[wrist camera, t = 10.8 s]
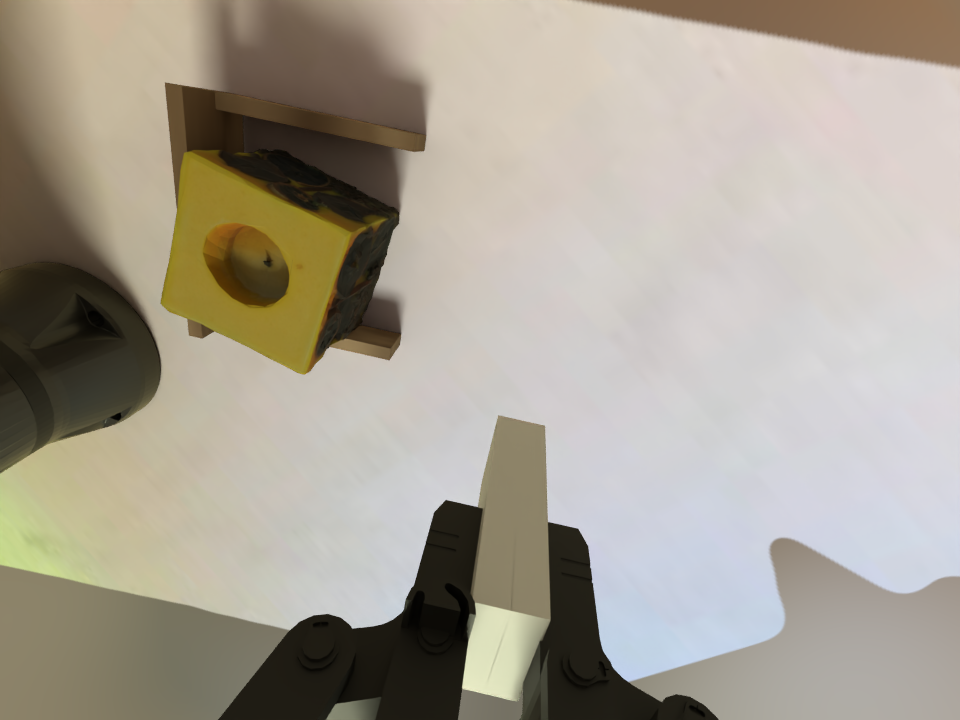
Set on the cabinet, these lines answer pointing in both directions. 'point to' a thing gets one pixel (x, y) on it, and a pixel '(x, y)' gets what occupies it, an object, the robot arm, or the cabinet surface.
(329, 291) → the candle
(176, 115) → the dock
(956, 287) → the cabinet surface
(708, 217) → the cabinet surface
